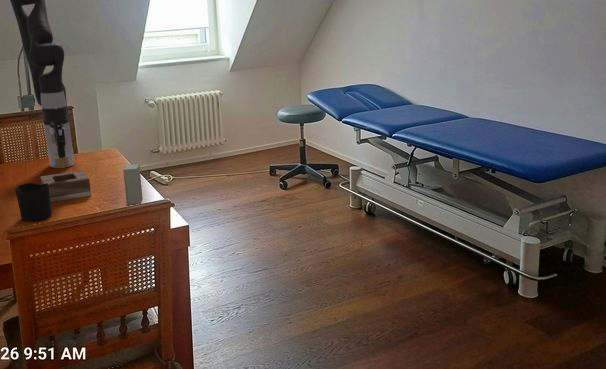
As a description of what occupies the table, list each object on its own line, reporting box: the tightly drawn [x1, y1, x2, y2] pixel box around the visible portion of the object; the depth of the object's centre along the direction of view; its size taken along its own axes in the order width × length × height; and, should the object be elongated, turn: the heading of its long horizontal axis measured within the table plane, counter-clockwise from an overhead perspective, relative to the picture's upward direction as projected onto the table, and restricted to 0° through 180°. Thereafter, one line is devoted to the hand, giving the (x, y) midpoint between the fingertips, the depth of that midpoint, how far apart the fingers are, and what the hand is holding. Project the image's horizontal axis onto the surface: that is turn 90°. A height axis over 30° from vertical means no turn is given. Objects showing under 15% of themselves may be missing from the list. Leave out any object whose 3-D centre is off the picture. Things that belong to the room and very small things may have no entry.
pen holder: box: [14, 182, 52, 223], centre depth 194 cm, size 9×9×10 cm
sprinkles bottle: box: [50, 128, 70, 169], centre depth 212 cm, size 5×5×13 cm
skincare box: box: [122, 163, 143, 206], centre depth 206 cm, size 6×4×12 cm
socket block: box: [39, 170, 92, 203], centre depth 216 cm, size 12×14×6 cm
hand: (60, 155), depth 213 cm, fingers closed on sprinkles bottle, 4 cm apart
